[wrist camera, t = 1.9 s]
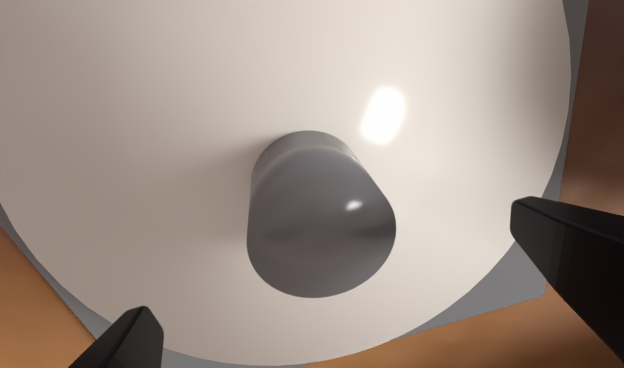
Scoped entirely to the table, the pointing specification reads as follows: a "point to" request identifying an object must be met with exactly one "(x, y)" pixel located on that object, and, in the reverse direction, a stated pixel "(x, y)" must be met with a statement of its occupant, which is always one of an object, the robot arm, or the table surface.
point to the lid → (276, 159)
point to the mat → (480, 299)
